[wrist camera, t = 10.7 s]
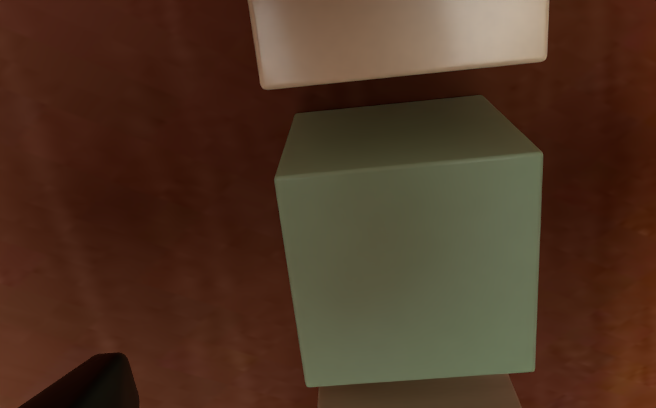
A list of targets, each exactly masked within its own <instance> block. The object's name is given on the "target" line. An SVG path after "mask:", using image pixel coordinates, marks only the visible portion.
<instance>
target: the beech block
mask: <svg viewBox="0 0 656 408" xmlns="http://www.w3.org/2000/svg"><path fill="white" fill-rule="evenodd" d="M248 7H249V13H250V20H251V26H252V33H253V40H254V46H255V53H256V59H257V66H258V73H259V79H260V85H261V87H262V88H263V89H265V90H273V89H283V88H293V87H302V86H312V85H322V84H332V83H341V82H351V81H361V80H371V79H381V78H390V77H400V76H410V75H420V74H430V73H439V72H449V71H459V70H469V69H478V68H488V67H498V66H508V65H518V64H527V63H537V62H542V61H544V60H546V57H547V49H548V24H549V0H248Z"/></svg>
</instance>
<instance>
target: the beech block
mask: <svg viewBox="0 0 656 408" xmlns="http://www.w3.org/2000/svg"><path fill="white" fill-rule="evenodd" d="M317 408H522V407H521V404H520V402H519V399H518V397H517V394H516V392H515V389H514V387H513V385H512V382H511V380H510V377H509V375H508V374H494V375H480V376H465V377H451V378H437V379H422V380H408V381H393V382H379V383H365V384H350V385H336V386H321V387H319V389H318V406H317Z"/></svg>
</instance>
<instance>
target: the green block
mask: <svg viewBox="0 0 656 408" xmlns="http://www.w3.org/2000/svg"><path fill="white" fill-rule="evenodd" d="M542 175H543V153H542V151H541V150H540V149H538V148H537V147H536V146H535V145H534V144H533V143H532V142H531V141H530V140H529V139H528V138H527V137H526V136H525V135H524V134H523V133H522V132H521V131H520V130H518V129H517V128H516V127H515V126H514V125H513V124H512V123H511V122H510V121H509V120H508V119H507V118H506V117H505V116H504V115H503V114H502V113H501V112H500V111H498V110H497V109H496V108H495V107H494V106H493V105H492V104H491V103H490V102H489V101H488V100H487V99H486V98H485V97H484V96H483V95H474V96H465V97H455V98H445V99H435V100H425V101H415V102H405V103H395V104H385V105H375V106H365V107H355V108H345V109H335V110H325V111H315V112H306V113H297V114H295V116H294V119H293V122H292V125H291V128H290V131H289V134H288V137H287V141H286V144H285V147H284V150H283V153H282V156H281V159H280V162H279V166H278V169H277V172H276V175H275V178H274V183H275V189H276V196H277V202H278V209H279V215H280V222H281V228H282V235H283V241H284V248H285V254H286V261H287V267H288V274H289V280H290V287H291V293H292V300H293V306H294V313H295V319H296V326H297V332H298V339H299V345H300V352H301V358H302V365H303V371H304V378H305V384H306V386H307V387H321V386H336V385H350V384H365V383H379V382H393V381H408V380H422V379H437V378H451V377H465V376H480V375H494V374H509V373H523V372H533V371H534V370H535V355H536V329H537V304H538V278H539V252H540V226H541V200H542Z"/></svg>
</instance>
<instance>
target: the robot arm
mask: <svg viewBox="0 0 656 408" xmlns="http://www.w3.org/2000/svg"><path fill="white" fill-rule="evenodd" d="M18 408H139V395H138V391H137V388H136V384H135V381H134V378H133V374H132V371H131V368H130V364H129V361H128V359H127V357H126V356H125V355H124V354H123V353H120V352H118V353H104V354H97V355H94V356H93V357H91V358H90V359H88V360H87V361H85V362H84V363H82V364H81V365H79V366H78V367H77V368H75V369H74V370H72V371H71V372H69V373H68V374H66V375H65V376H63V377H62V378H61V379H59V380H58V381H56V382H55V383H53V384H52V385H50V386H49V387H47V388H46V389H44V390H43V391H42V392H40V393H39V394H37V395H36V396H34V397H33V398H31V399H30V400H28V401H27V402H26V403H24V404H23V405H21V406H20V407H18Z"/></svg>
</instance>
